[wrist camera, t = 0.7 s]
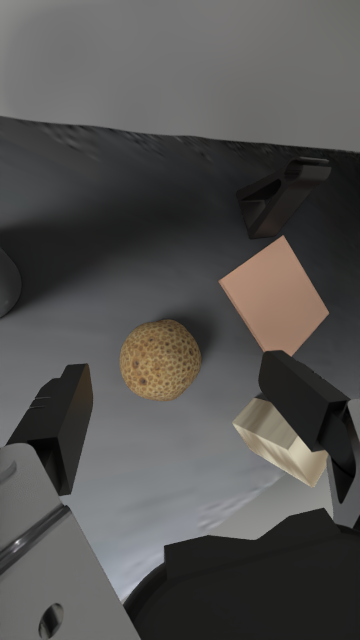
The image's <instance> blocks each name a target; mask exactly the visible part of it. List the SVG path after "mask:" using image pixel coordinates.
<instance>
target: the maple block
mask: <svg viewBox="0 0 360 640" xmlns="http://www.w3.org/2000/svg"><path fill="white" fill-rule="evenodd" d="M232 423H233V425H234V426H235V428H236V429H237V431H238V432H239V434H240V435H241V437H242V438H243V439H244V441H245V442H246V444H247V445H248V447H249V448H250V450H251V451H253V452H255V453H256V454H258V455H259V456H261V457H263V458H264V459H266V460H268V461H269V462H271V463H273V464H274V465H276V466H278V467H279V468H281V469H283V470H284V471H286V472H287V473H290V474H291V475H292V476H294V477H296V478H297V479H299V480H301V481H302V482H304V483H306V484H307V485H309V486H310V487H312V488H314V486H315V485H316V483H317V481H318V479H319V478H320V476H321V474H322V473H323V471H324V469H325V467H326V466H327V464H326V458H327V455H328V453H327V452H326V450H323V451H317V452H311V451H310V450H309V448H308V447H307V446H306V445H305V443H304V442H303V441H302V440H301V439H300V437H299V436H298V435H297V434H296V432H295V431H294V430H293V429H292V428H291V426H290V425H289V424H288V423H287V421H286V420H285V419H284V418H283V417H282V415H281V414H280V413H279V412H278V410H277V409H276V408H275V407H274V406H273V404H272V403H271V402H268V401H265V400H261V399H257V398H253V399H252V400H251V401H250V403H249V404H248V405H247V406H246V407H245V408H244V409H243V411H242V412H241V413H240V414H239V415H238V416H237V417H236V418H235V420H234V421H233V422H232Z"/></svg>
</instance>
